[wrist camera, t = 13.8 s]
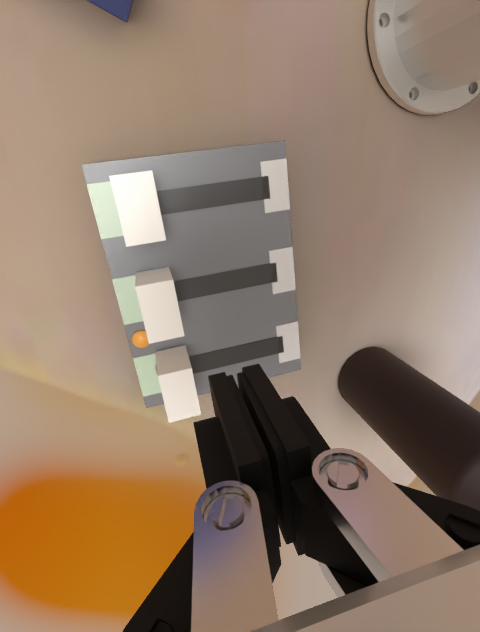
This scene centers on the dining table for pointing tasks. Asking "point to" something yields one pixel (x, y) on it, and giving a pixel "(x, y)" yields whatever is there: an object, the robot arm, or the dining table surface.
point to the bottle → (417, 422)
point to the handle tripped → (158, 305)
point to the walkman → (115, 7)
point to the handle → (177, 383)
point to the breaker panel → (210, 260)
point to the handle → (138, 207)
